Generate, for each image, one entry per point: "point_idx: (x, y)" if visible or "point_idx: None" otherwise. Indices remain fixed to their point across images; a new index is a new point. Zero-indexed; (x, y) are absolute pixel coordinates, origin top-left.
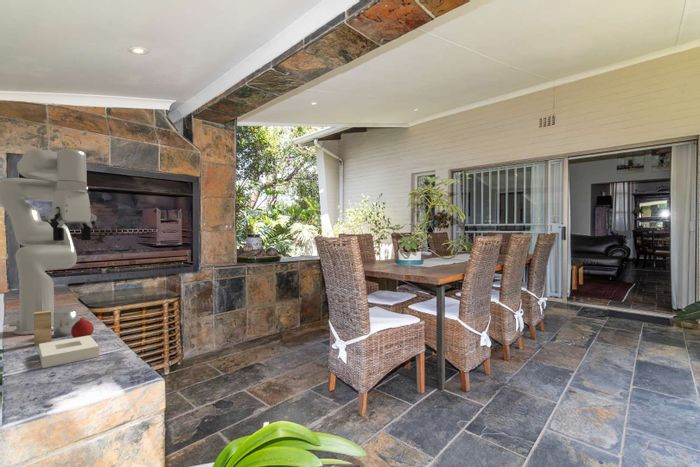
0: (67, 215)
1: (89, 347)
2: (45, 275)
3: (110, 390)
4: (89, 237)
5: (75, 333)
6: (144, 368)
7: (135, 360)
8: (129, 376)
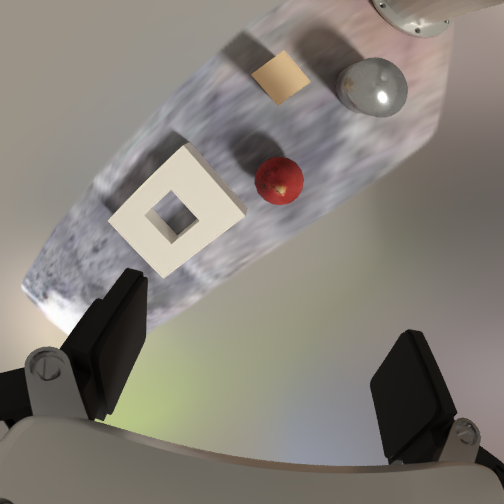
0: None
1: (155, 267)
2: None
3: None
4: (376, 397)
5: (255, 177)
6: None
7: (155, 325)
8: None
